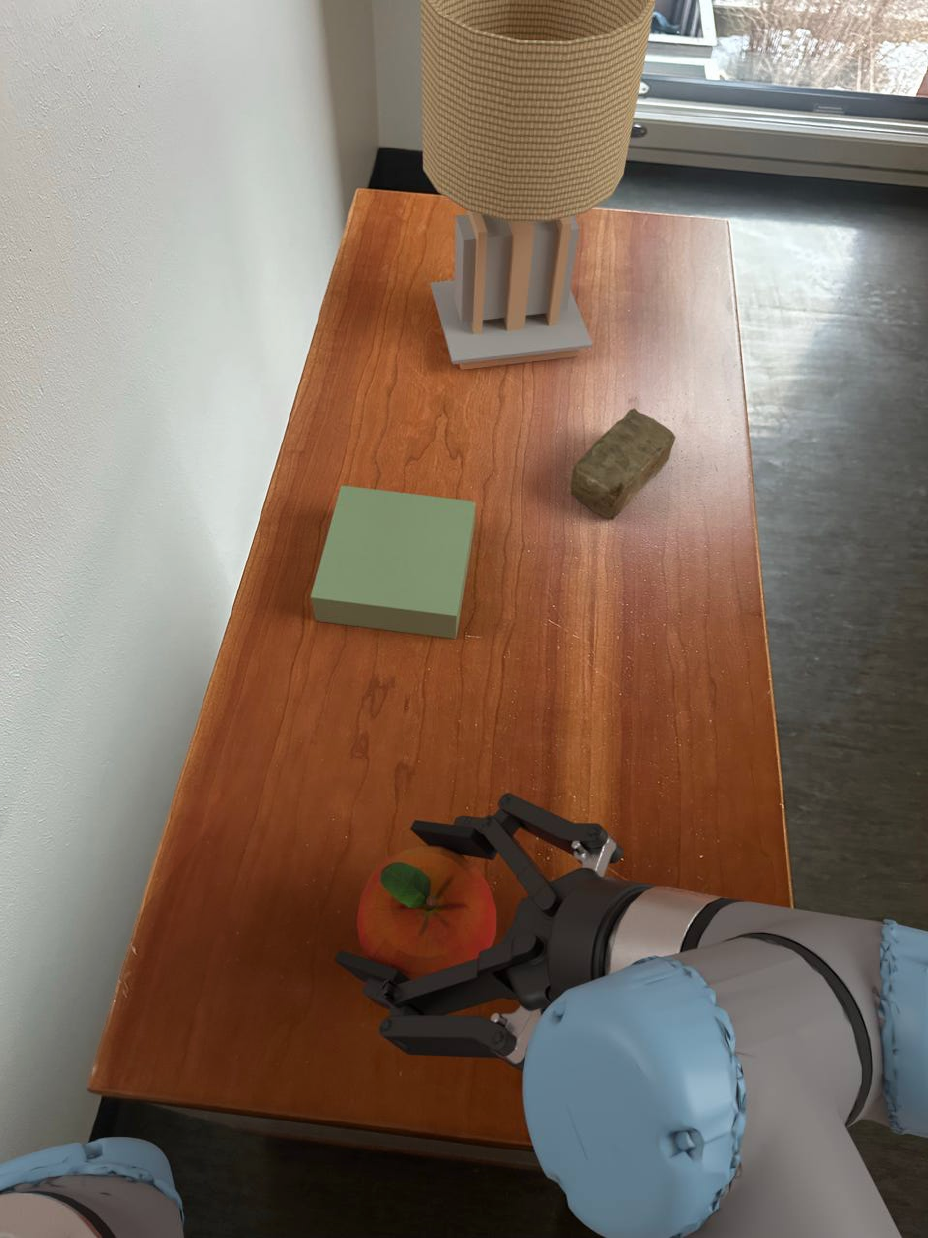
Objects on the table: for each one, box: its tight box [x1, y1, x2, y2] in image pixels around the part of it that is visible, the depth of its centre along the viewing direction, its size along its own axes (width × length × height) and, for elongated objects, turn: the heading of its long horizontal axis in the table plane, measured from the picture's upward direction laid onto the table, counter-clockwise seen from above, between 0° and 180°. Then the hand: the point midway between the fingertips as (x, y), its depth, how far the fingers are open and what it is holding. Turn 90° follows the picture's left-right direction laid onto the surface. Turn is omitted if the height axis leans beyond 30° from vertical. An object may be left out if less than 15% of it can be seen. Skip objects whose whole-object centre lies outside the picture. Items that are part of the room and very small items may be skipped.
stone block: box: [570, 408, 677, 521], centre depth 90 cm, size 6×12×5 cm, turn 142°
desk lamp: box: [420, 0, 657, 371], centre depth 89 cm, size 20×20×35 cm
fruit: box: [356, 844, 497, 980], centre depth 60 cm, size 10×10×10 cm
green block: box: [310, 485, 477, 640], centre depth 83 cm, size 13×13×4 cm
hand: (388, 897), depth 62 cm, fingers closed on fruit, 9 cm apart
